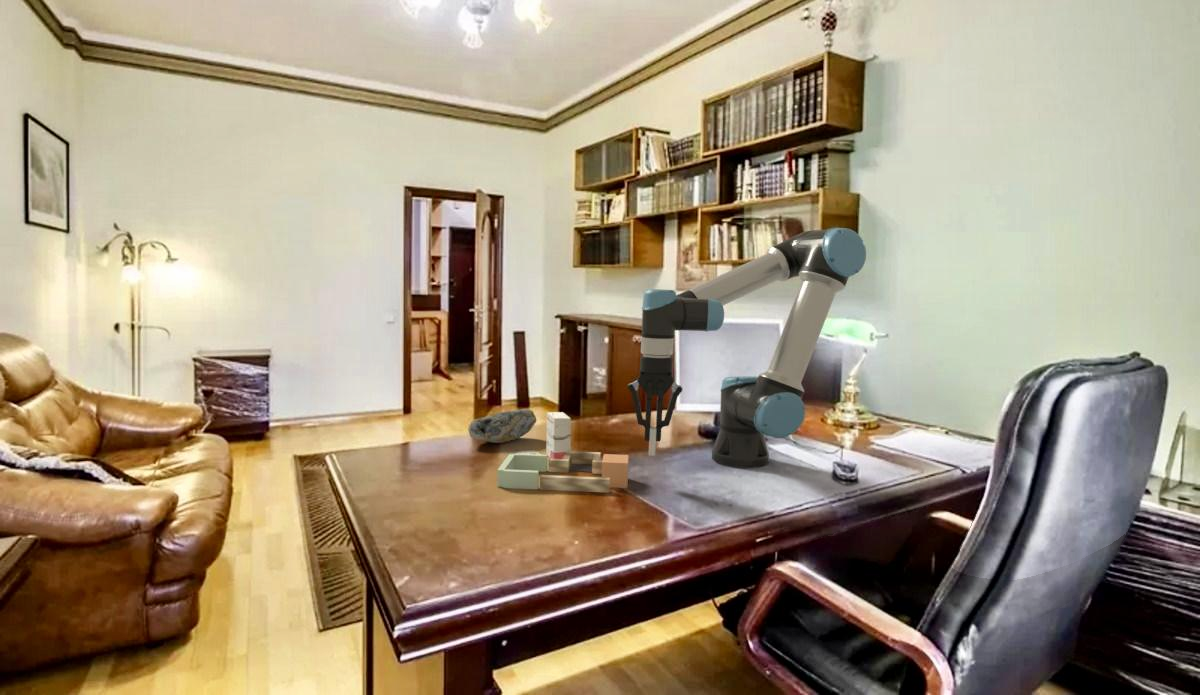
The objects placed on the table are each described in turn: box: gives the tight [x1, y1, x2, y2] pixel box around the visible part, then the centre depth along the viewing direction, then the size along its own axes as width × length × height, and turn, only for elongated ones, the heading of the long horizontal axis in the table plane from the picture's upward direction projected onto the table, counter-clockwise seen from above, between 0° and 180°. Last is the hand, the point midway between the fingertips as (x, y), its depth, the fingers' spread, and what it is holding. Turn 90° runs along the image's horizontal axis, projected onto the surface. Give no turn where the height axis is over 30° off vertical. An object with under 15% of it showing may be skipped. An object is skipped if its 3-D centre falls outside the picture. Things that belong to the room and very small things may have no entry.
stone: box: [467, 408, 537, 444], centre depth 189 cm, size 11×21×10 cm, turn 119°
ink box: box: [545, 411, 572, 459], centre depth 175 cm, size 9×5×12 cm, turn 18°
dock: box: [496, 452, 548, 490], centre depth 157 cm, size 10×15×4 cm, turn 176°
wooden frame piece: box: [539, 450, 611, 494], centre depth 160 cm, size 16×22×3 cm
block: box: [601, 453, 629, 489], centre depth 155 cm, size 6×7×6 cm
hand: (651, 454), depth 154 cm, fingers closed
